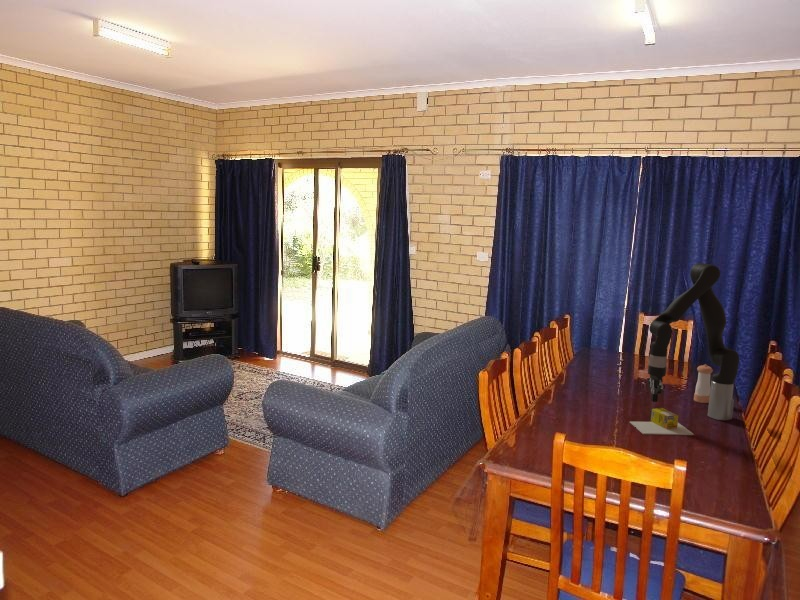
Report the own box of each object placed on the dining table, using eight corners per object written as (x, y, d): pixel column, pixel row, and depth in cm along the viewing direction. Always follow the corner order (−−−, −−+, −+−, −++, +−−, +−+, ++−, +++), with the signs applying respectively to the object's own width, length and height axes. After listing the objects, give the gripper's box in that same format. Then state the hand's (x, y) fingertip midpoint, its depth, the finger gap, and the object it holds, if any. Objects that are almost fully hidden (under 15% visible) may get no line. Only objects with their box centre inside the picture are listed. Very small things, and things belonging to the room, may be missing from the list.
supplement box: (649, 420, 261) (666, 429, 251) (650, 408, 260) (667, 416, 250) (660, 419, 263) (677, 428, 252) (661, 407, 262) (678, 415, 252)
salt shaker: (711, 403, 289) (715, 366, 286) (696, 402, 290) (699, 365, 288) (707, 399, 296) (710, 363, 293) (691, 398, 297) (695, 362, 295)
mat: (677, 423, 260) (677, 422, 260) (693, 435, 246) (693, 434, 246) (629, 422, 260) (629, 421, 260) (643, 434, 246) (643, 433, 246)
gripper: (673, 368, 253) (669, 406, 256) (658, 361, 266) (655, 396, 269) (656, 368, 253) (653, 406, 256) (642, 360, 266) (639, 396, 269)
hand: (654, 401), depth 262 cm, fingers closed
